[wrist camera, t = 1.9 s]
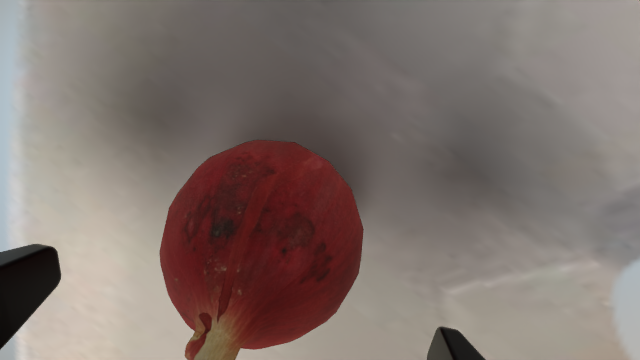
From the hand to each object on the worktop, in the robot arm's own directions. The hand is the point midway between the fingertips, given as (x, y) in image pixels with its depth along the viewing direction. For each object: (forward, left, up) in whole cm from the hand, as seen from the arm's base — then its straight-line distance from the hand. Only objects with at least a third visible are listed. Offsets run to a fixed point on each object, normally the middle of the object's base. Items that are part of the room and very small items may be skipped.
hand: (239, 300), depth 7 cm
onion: (0, 0, -7) cm, 7 cm away
